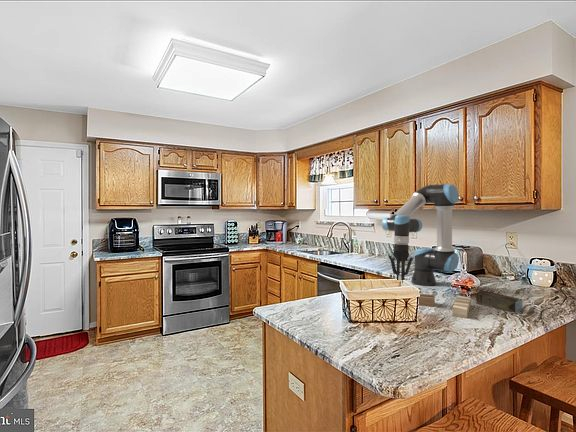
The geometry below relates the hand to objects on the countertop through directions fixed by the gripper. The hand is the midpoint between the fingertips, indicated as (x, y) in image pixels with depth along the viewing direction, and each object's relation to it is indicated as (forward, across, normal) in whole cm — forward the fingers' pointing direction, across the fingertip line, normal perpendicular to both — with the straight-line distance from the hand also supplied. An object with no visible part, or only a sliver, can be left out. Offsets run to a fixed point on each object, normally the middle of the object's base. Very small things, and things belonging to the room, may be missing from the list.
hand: (400, 287), depth 182 cm
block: (+7, +12, 0) cm, 14 cm away
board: (+7, +30, 0) cm, 31 cm away
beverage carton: (+7, +45, +16) cm, 49 cm away
